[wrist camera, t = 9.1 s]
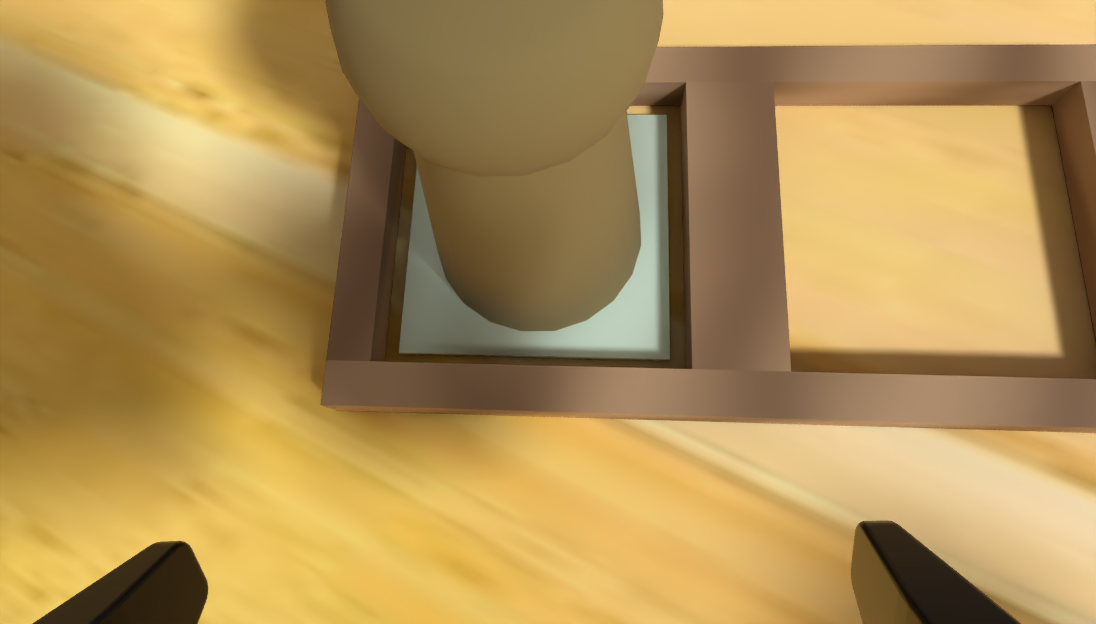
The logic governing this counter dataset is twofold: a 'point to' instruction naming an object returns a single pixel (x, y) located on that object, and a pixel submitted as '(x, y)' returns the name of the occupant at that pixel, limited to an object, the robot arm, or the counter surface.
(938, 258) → the counter surface
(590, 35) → the cork
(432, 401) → the brown wooden frame
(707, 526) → the counter surface
